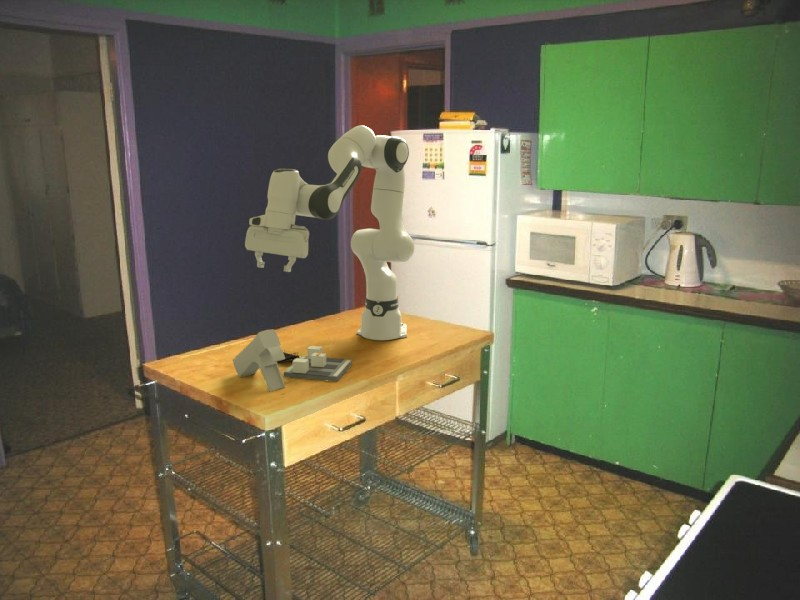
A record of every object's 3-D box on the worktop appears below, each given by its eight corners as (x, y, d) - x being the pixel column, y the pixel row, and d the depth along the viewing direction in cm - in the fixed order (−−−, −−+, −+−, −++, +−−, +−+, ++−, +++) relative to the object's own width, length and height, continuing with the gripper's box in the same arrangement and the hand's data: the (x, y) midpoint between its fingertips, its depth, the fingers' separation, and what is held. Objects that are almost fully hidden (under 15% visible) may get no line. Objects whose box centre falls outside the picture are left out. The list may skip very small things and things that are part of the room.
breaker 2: (310, 356, 216) (310, 345, 215) (322, 357, 215) (322, 346, 215) (307, 358, 213) (307, 348, 213) (319, 359, 213) (319, 349, 212)
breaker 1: (296, 369, 204) (296, 358, 203) (308, 370, 203) (308, 359, 202) (292, 372, 201) (292, 361, 200) (305, 373, 200) (305, 362, 199)
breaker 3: (314, 363, 209) (314, 351, 208) (326, 364, 209) (326, 352, 208) (311, 366, 207) (310, 354, 206) (323, 367, 206) (323, 355, 205)
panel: (302, 360, 218) (302, 355, 217) (352, 364, 214) (352, 359, 214) (283, 377, 202) (283, 372, 201) (337, 381, 198) (336, 376, 198)
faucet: (249, 355, 207) (275, 326, 193) (268, 402, 203) (297, 376, 189) (231, 359, 203) (256, 330, 189) (250, 408, 198) (278, 381, 185)
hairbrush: (266, 337, 234) (304, 351, 215) (267, 347, 234) (305, 362, 216) (245, 341, 229) (282, 356, 210) (246, 352, 229) (283, 367, 210)
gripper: (315, 227, 195) (309, 274, 196) (257, 220, 203) (251, 265, 204) (304, 225, 189) (298, 274, 190) (244, 218, 197) (239, 264, 198)
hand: (273, 269), depth 197 cm, fingers open, 8 cm apart
